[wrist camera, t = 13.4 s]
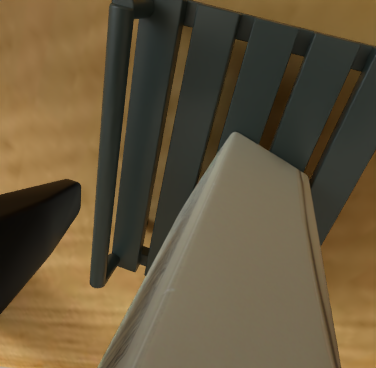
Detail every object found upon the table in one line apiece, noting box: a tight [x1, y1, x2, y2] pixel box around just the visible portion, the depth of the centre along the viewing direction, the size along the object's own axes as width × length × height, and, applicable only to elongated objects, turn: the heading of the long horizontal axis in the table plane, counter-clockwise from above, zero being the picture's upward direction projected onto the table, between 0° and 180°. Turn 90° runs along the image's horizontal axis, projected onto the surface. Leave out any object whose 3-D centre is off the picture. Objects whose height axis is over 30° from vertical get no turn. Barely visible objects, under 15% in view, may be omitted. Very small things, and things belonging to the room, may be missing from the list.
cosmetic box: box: [97, 132, 341, 368], centre depth 11 cm, size 6×4×12 cm
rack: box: [90, 0, 376, 288], centre depth 17 cm, size 12×16×7 cm
